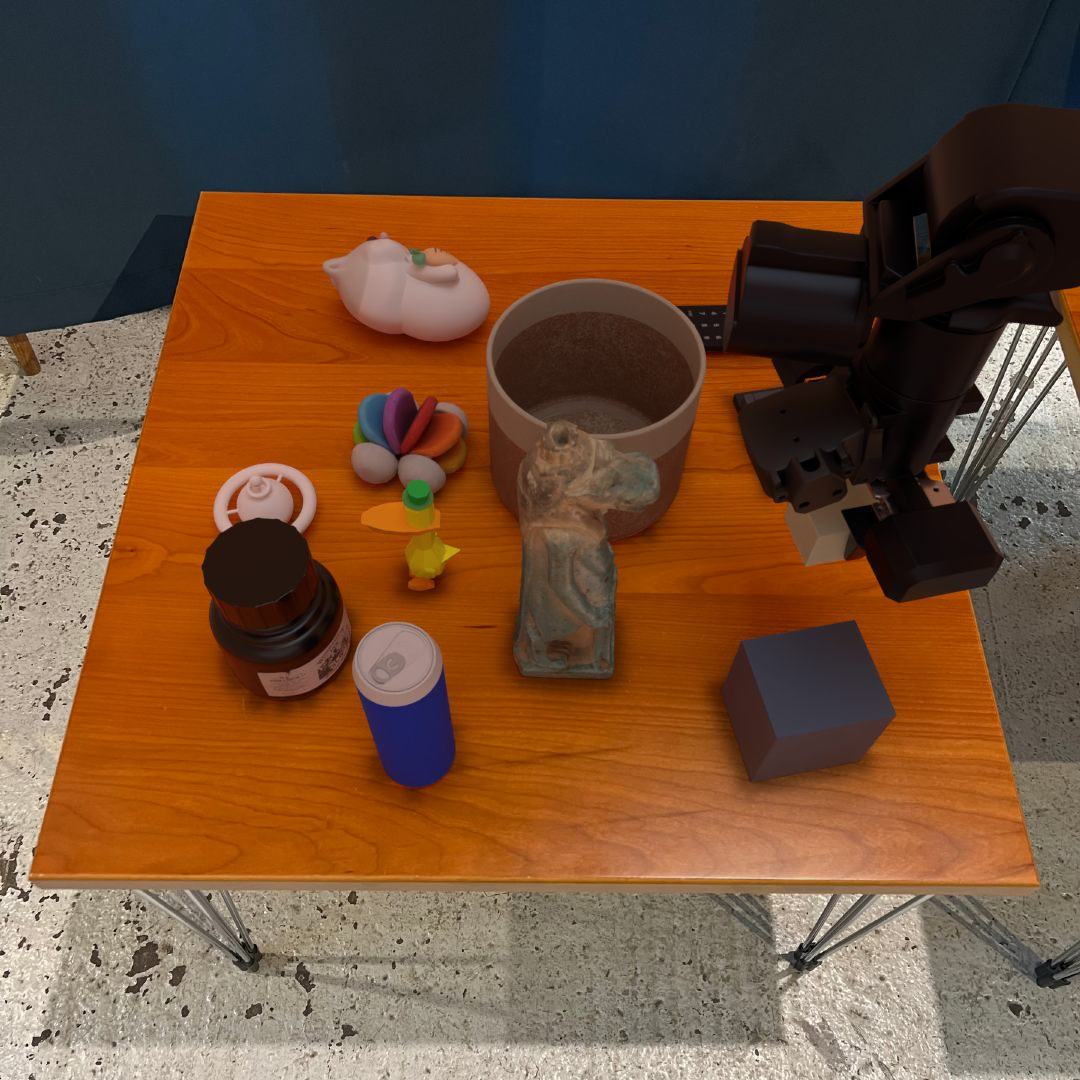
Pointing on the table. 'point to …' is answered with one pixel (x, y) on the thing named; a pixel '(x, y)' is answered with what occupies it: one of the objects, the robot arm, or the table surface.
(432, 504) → the toy figure
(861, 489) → the beige block
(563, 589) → the statue
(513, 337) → the planter
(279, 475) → the ring around a ball
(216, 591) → the ink bottle
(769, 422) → the robot arm
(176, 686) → the table surface
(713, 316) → the remote control
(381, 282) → the cat figurine
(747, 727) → the dark gray cube
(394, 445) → the rainbow stacking pebbles
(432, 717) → the beverage can
